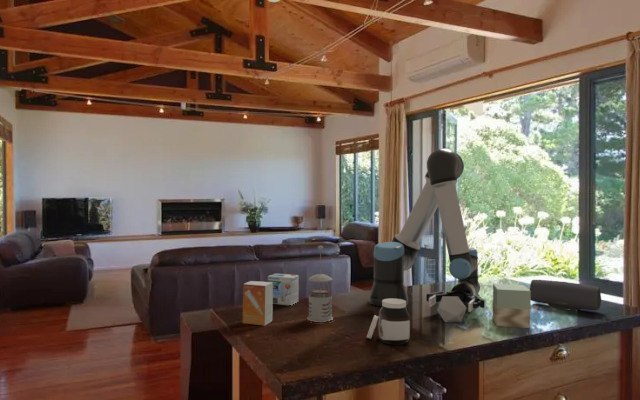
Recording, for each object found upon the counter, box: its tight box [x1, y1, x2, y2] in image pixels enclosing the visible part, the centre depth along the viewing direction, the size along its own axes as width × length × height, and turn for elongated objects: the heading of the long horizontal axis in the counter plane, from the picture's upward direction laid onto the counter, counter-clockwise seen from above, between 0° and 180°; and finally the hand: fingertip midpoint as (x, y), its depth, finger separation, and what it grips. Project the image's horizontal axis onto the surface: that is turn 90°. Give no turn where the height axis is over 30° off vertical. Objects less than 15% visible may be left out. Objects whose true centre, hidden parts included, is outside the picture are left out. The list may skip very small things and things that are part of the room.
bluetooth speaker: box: [529, 279, 602, 311], centre depth 173 cm, size 23×9×10 cm, turn 49°
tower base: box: [492, 301, 531, 329], centre depth 153 cm, size 10×10×6 cm
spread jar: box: [366, 298, 411, 346], centre depth 133 cm, size 12×11×12 cm
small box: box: [242, 280, 274, 327], centre depth 151 cm, size 8×6×13 cm
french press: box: [306, 245, 334, 322], centre depth 156 cm, size 10×12×25 cm
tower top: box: [492, 283, 532, 311], centre depth 153 cm, size 10×10×6 cm
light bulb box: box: [267, 273, 300, 306], centre depth 179 cm, size 11×7×11 cm, turn 68°
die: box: [436, 296, 468, 323], centre depth 154 cm, size 8×9×10 cm
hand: (449, 305), depth 151 cm, fingers open, 12 cm apart
